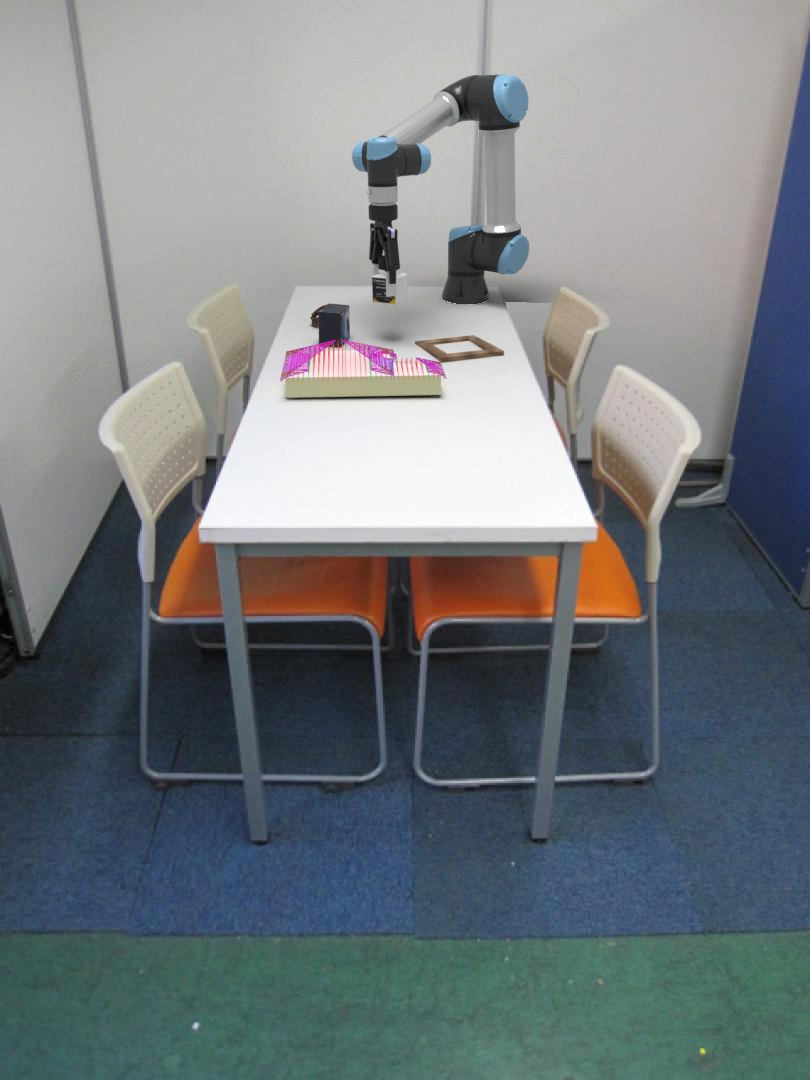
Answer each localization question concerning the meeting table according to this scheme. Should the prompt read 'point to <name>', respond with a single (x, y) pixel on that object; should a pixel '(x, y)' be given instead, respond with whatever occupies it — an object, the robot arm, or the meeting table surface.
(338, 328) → the small box
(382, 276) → the medicine bottle
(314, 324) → the pottery mug
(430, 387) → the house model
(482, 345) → the brown square frame
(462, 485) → the meeting table surface
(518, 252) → the robot arm
